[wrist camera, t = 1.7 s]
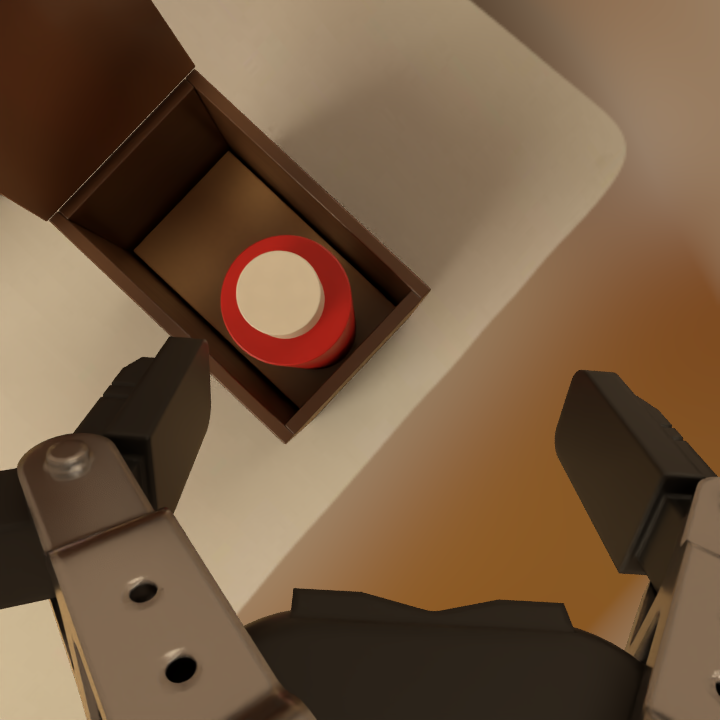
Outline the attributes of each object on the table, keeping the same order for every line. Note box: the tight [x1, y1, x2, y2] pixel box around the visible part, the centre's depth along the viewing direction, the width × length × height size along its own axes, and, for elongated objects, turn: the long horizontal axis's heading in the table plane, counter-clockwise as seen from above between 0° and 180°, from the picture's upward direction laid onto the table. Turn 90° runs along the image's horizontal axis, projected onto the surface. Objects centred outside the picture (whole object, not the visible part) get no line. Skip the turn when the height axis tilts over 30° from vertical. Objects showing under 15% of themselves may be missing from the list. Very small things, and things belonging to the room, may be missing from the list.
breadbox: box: [50, 69, 431, 444], centre depth 29 cm, size 14×9×11 cm, turn 47°
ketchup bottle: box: [220, 235, 356, 369], centre depth 23 cm, size 4×4×13 cm
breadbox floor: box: [133, 151, 396, 409], centre depth 32 cm, size 13×8×4 cm, turn 47°
